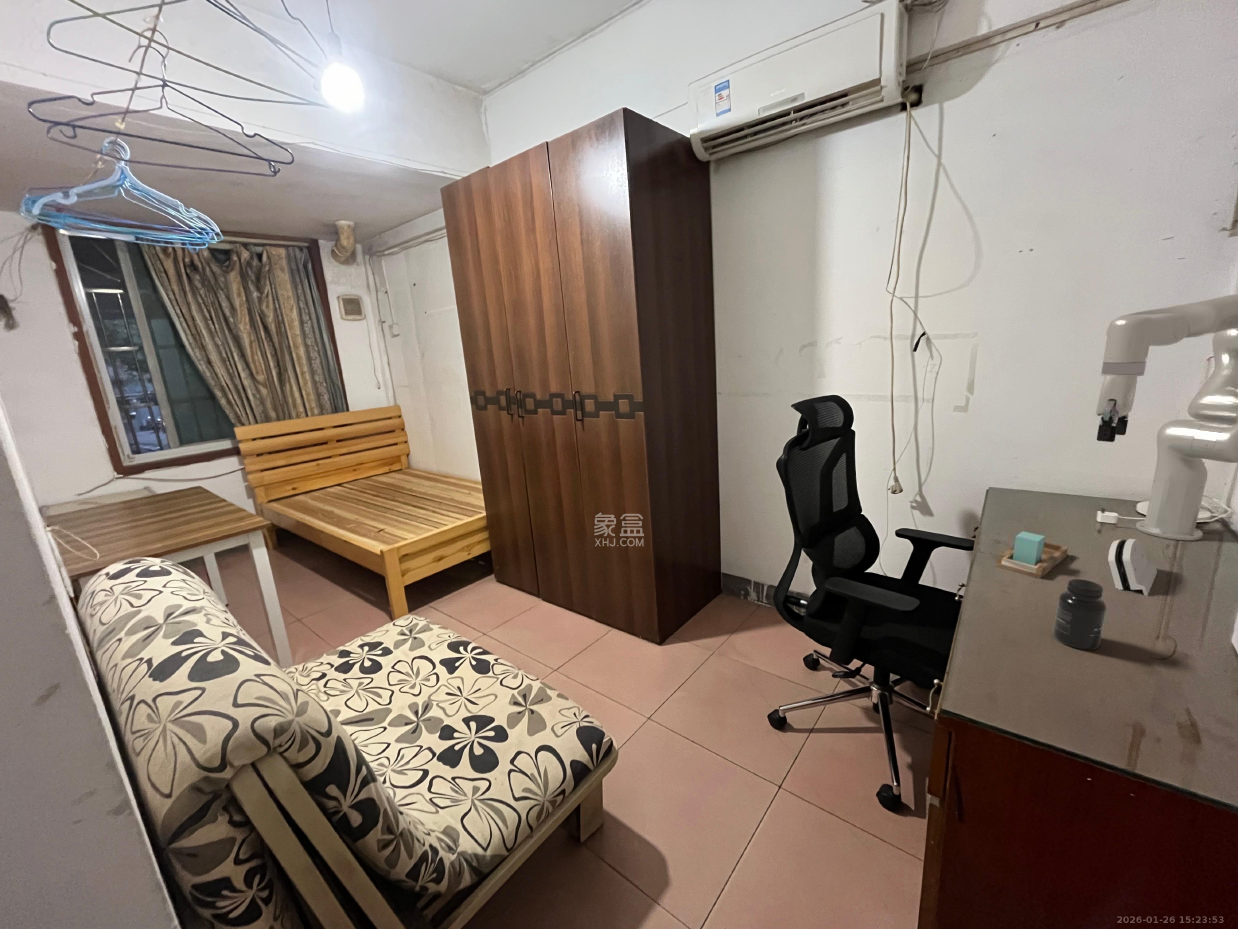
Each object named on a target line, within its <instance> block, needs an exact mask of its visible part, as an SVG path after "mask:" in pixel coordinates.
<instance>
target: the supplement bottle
mask: <svg viewBox="0 0 1238 929" xmlns="http://www.w3.org/2000/svg"><path fill="white" fill-rule="evenodd" d="M1103 591H1104V588H1103V586H1102V585H1101V584H1098V583H1097V582H1094V581H1091V580H1087V579H1080V578H1073V579H1070V580H1068V584H1067V586H1066V591H1063V592H1062V593H1061V594H1059V596H1058V600H1057V606H1056V610H1055V611H1056V612H1055V617H1054V622H1053V628H1052V629H1053V630H1052V634H1053V637H1054V638H1055V639H1056V640H1058V641H1059V643H1063V644H1064V645H1066V646H1069V647H1072V648H1074V649H1079V650H1087V651H1088V650H1091V651H1092V650H1096V649H1097V648H1099V646H1100V644H1101V640H1102V635H1103V632H1104V631H1103V630H1104V625H1105V621H1106V615H1107V609H1108V606H1107V603H1105V601H1104V600H1103V599H1102V598H1103Z"/></svg>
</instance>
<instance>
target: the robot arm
mask: <svg viewBox="0 0 1238 929" xmlns="http://www.w3.org/2000/svg"><path fill="white" fill-rule="evenodd" d="M1212 334H1213V337H1212V344H1211V346H1212V352H1213V359H1214V360H1213V361H1214V368H1213V370H1212V372H1211V374H1210V376H1209V377H1208V378H1207V380H1206V381H1205V382H1204V384H1203V385H1202V386H1201V388H1200V389H1199V390H1198V391H1197V392H1196V394H1195V395H1194V397H1192V399H1191V401H1190V403H1189V404H1188V406H1187V414H1188V415H1189V417H1191V418H1193V419H1175V420H1170V421H1168V422H1166V423H1164V424H1163V425H1162V426H1161V427H1160V428H1159V429H1158V431H1157V434H1156V448H1157V449H1156V450H1157V452H1156V454H1157V455H1156V456H1157V458H1156V465H1155V471H1154V476H1153V480H1152V485H1151V491H1150V495H1149V500H1148V504H1147V509H1146V515H1145V520H1140V521H1137V522H1136V524H1135V528H1136V529H1137V530H1139V531H1140V532H1142V533H1145V534H1147V535H1150V536H1154V537H1159V538H1163V539H1169V540H1177V541H1197V540H1200V539H1202V538H1203V535H1204V533H1203V532H1202V531H1201V530H1200V529H1197V528H1196V527H1197V526H1196V525H1197V522H1198V519H1199V518H1198V517H1199V513H1200V509H1201V507H1202V506H1201V504H1202V500H1203V496H1204V492H1205V488H1206V484H1207V481H1208V469H1207V467H1206V465H1205V463H1204V461H1203V459H1204V460H1210V461H1214V462H1215V461H1216V462H1222V463H1227V464H1229V463H1230V464H1237V463H1238V293H1237V294H1229V295H1223V296H1220V297H1219V296H1218V297H1214V298H1210V299H1205V300H1201V301H1196V302H1191V303H1184V304H1177V305H1172V306H1167V307H1161V308H1155V309H1147V310H1142V311H1141V310H1140V311H1136V312H1132V313H1128V314H1122V315H1120V316H1118V317H1116V318H1113V320H1111V321H1110V322H1109V324H1108V327H1107V330H1106V341H1105V348H1104V356H1103V358H1102V359H1103V360H1102V367H1101V373H1100V375H1101V376H1102V377H1104V378H1103V381H1102V384H1101V388H1100V392H1099V397H1098V402H1097V406H1096V411H1095V415H1096V416H1097V417H1100V421H1099V425H1098V430H1097V435H1096V440H1097V441H1098V442H1106V443H1114V442H1115V440H1116V436H1125V435H1126V433H1127V428H1128V424H1129V422H1128V421H1129V414H1130V413H1131V411H1132V409H1133V406H1134V401H1135V396H1136V389H1137V383H1138V377H1143V376H1145V372H1146V366H1147V360H1148V354H1149V350H1150V347H1155V346H1156V347H1161V346H1162V347H1163V346H1164V347H1165V346H1171V345H1175V344H1177V343H1180V342H1181V341H1183V340H1184V339H1188V338H1198V337H1203V336H1208V335H1212Z"/></svg>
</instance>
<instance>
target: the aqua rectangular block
mask: <svg viewBox="0 0 1238 929" xmlns="http://www.w3.org/2000/svg"><path fill="white" fill-rule="evenodd" d="M1045 538H1046V537H1045V535H1042V534H1041V535H1040V534H1036V533H1032V532H1029V531H1028V532H1027V531H1023V530H1022V531H1021V532H1020V533H1018V534H1017V535H1016V536H1015V540H1014V545H1015V547H1014V554H1013V560H1014V561H1018V562H1021V563H1025V564H1029V565H1033V566H1036V565H1037V564H1038V563H1040V562H1041V558H1042V552H1043V546H1044V542H1045Z"/></svg>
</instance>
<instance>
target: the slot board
mask: <svg viewBox="0 0 1238 929" xmlns="http://www.w3.org/2000/svg"><path fill="white" fill-rule="evenodd" d="M1014 547H1015V544H1014V545H1012V547H1010V548H1009V549H1008V550H1006V551H1004V552H1003V553H1002V554H1000V555H999V556H998V557H997V558H996V565H995V566H996V567H997V568H1002V569H1004V570H1008V571H1011V572H1015V573H1018V574H1023V575H1026V576H1030V577H1032V576H1033V578H1036V577H1037V578H1036V579H1041V577H1042V578H1043V577H1045V575H1046V574H1047V573H1049V572H1050V571H1051V570H1052V569H1053V568H1054V567H1056V565H1058V564H1059V563H1060V562H1061V561H1062V560H1064V558H1066V557H1067V555H1068V550H1069V547H1068V546H1064V545H1060V544H1055V543H1052V542H1047V541H1044V546H1043V552H1042V558H1041V562H1040V563H1038V564H1037V565H1036V566H1033V565H1029V564H1025V563H1021V562H1018V561H1014V560H1013V554H1014ZM1048 571H1049V572H1048Z"/></svg>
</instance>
